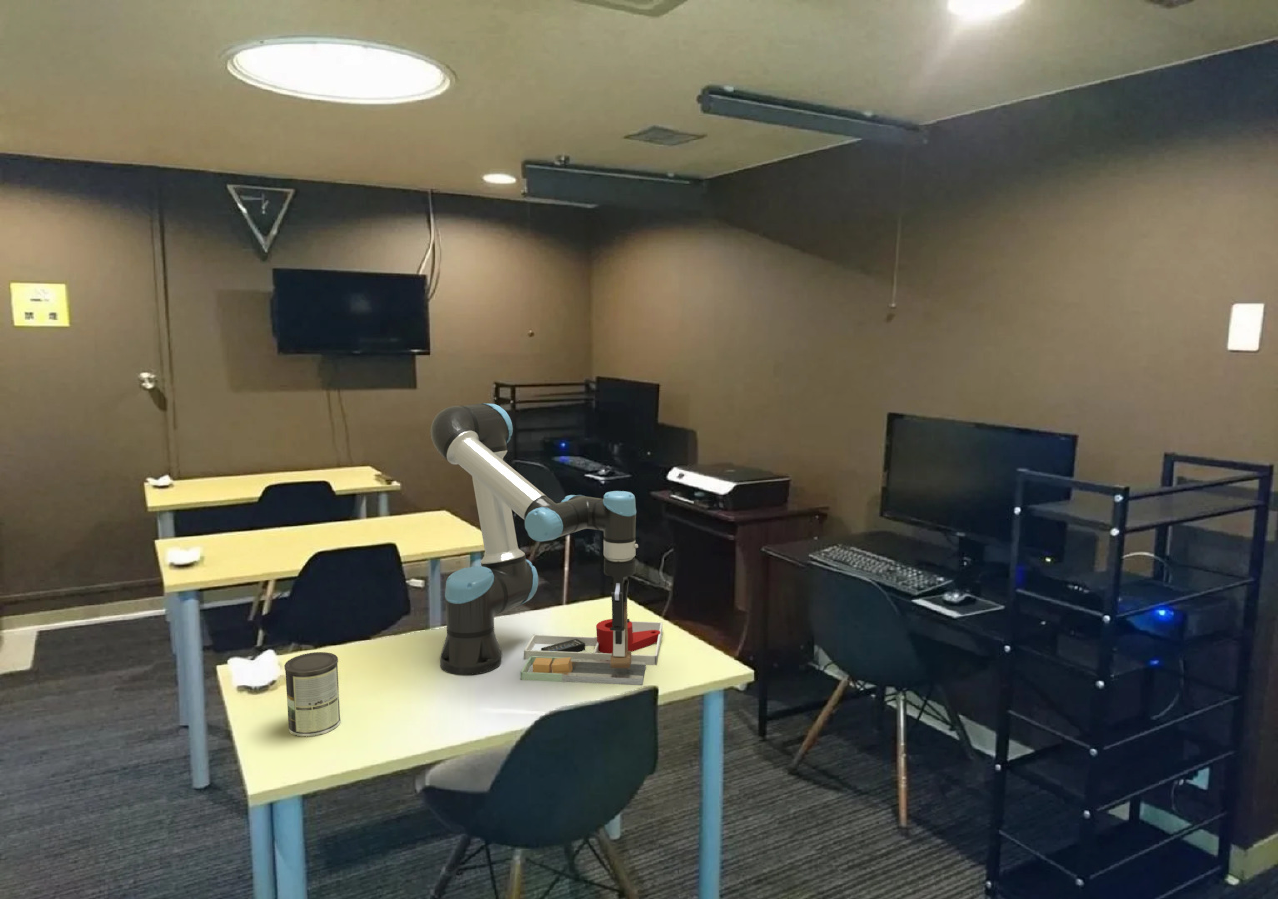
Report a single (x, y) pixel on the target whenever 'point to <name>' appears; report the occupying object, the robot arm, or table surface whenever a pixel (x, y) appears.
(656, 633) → the lever
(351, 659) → the table surface
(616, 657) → the wooden post on base
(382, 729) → the table surface
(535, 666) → the chip
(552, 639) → the organizer
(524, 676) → the tray
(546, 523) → the robot arm
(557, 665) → the orange block
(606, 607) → the table surface
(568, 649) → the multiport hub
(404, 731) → the table surface
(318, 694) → the coffee can
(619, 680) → the shallow gray tray
